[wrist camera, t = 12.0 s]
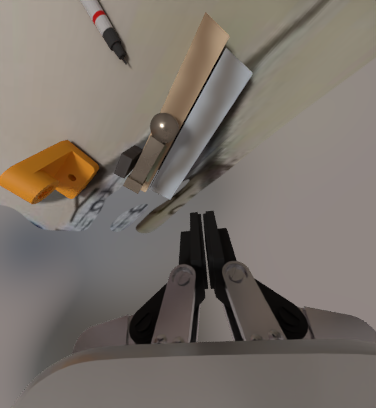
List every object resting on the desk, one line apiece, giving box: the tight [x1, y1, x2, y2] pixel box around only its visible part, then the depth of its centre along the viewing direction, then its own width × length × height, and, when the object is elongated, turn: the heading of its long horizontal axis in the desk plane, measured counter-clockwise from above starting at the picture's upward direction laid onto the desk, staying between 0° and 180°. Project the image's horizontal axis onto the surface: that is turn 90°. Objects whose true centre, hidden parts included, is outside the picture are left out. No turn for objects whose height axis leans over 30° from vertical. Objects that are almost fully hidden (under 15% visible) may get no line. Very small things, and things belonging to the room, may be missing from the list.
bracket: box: [0, 140, 99, 204], centre depth 28 cm, size 11×7×12 cm, turn 132°
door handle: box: [123, 113, 179, 194], centre depth 26 cm, size 14×4×4 cm, turn 145°
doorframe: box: [114, 13, 253, 200], centre depth 26 cm, size 12×28×7 cm, turn 148°
